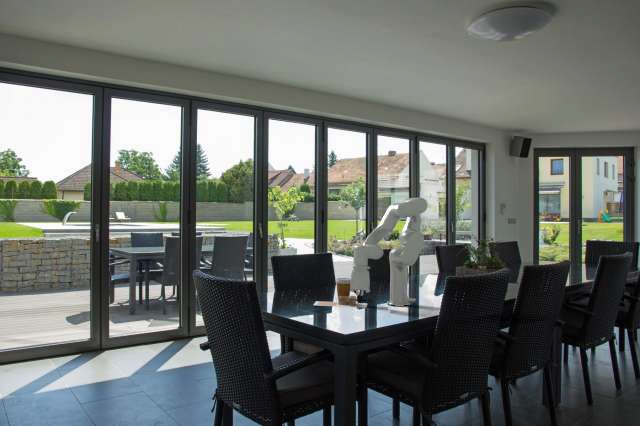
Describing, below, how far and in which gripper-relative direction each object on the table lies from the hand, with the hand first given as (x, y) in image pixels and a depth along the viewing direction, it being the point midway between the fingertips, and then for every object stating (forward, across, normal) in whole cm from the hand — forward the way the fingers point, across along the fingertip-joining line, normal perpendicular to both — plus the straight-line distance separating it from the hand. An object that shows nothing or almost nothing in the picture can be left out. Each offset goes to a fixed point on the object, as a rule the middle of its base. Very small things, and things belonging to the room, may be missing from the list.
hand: (359, 302), depth 258 cm
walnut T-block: (+1, +6, 0) cm, 6 cm away
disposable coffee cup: (+2, +10, -20) cm, 23 cm away
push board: (+2, +10, 0) cm, 10 cm away
